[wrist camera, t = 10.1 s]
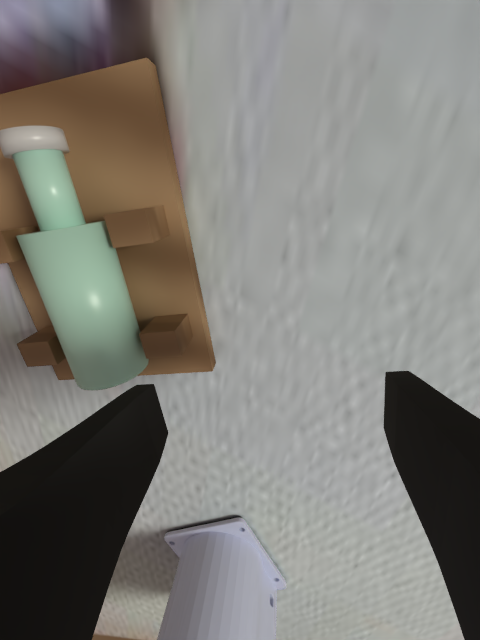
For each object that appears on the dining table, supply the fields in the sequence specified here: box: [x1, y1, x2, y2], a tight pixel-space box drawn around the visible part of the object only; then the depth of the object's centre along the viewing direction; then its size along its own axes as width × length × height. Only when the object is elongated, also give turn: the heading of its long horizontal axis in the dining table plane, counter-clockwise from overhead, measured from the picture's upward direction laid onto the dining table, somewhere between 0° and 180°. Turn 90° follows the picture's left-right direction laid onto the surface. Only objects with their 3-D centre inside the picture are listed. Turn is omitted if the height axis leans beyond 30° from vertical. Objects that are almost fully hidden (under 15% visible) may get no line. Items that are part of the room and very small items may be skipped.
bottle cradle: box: [0, 58, 216, 380], centre depth 17 cm, size 16×11×3 cm
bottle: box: [0, 126, 149, 390], centre depth 16 cm, size 12×4×4 cm, turn 8°
